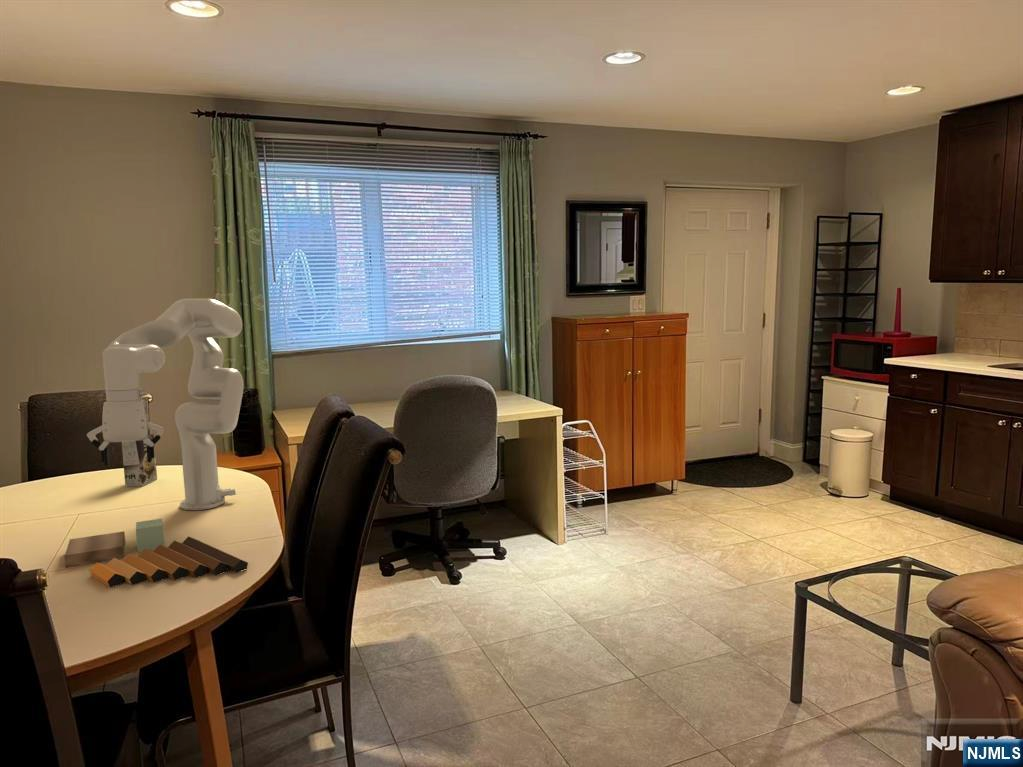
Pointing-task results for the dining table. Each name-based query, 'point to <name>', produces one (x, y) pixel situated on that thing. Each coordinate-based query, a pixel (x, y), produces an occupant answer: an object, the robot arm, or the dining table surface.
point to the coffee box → (138, 463)
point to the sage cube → (149, 534)
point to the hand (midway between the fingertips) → (129, 462)
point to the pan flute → (167, 563)
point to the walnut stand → (95, 549)
